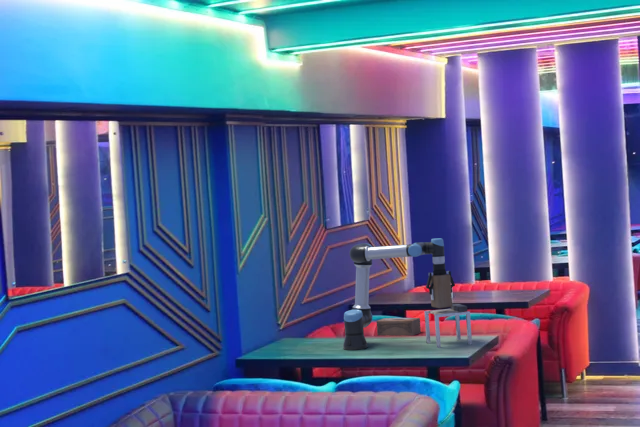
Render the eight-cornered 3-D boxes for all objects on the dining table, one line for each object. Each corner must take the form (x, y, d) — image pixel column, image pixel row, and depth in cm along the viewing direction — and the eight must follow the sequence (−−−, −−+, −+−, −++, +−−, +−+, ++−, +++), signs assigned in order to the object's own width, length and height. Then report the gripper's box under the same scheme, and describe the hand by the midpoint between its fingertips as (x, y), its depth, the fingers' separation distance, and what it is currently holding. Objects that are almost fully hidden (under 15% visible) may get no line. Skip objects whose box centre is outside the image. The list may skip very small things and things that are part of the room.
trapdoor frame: (426, 342, 598) (424, 311, 598) (459, 339, 603) (457, 307, 602) (437, 347, 577) (435, 314, 577) (472, 344, 581) (469, 311, 581)
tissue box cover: (420, 332, 646) (419, 317, 645) (413, 336, 633) (412, 321, 633) (385, 332, 657) (384, 318, 657) (377, 335, 644) (376, 321, 644)
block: (438, 308, 582) (436, 275, 582) (430, 307, 592) (428, 275, 591) (453, 306, 586) (450, 274, 586) (444, 305, 595) (442, 273, 595)
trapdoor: (429, 312, 596) (429, 306, 596) (458, 310, 600) (457, 303, 600) (438, 315, 580) (437, 309, 579) (467, 312, 583) (467, 306, 583)
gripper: (422, 265, 582) (425, 301, 583) (458, 262, 587) (461, 297, 587) (419, 264, 590) (421, 300, 590) (454, 261, 594) (457, 296, 595)
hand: (441, 299), depth 589 cm, fingers closed on block, 11 cm apart
